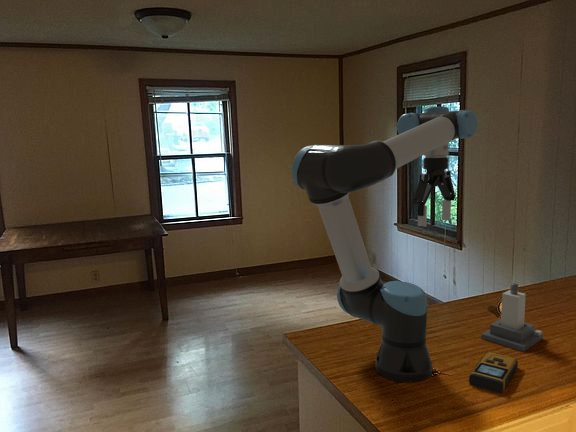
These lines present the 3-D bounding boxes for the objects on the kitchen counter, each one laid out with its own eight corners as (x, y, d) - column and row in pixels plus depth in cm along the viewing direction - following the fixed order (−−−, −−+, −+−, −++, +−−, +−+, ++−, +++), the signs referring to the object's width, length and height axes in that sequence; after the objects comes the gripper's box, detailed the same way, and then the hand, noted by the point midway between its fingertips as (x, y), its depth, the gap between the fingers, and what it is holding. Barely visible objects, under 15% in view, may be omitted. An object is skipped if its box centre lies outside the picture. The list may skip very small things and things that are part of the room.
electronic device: (519, 369, 132) (519, 357, 131) (503, 395, 119) (504, 382, 118) (485, 361, 137) (485, 349, 137) (467, 385, 124) (467, 372, 124)
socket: (523, 351, 141) (524, 337, 140) (481, 338, 151) (481, 324, 150) (542, 338, 149) (543, 324, 148) (501, 326, 159) (501, 313, 158)
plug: (516, 338, 146) (519, 287, 144) (500, 333, 150) (502, 284, 147) (523, 334, 149) (526, 284, 147) (507, 329, 153) (509, 280, 150)
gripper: (423, 159, 142) (421, 230, 146) (467, 154, 158) (465, 219, 161) (401, 158, 148) (401, 227, 151) (447, 154, 164) (445, 216, 167)
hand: (434, 223), depth 156 cm, fingers open, 13 cm apart
